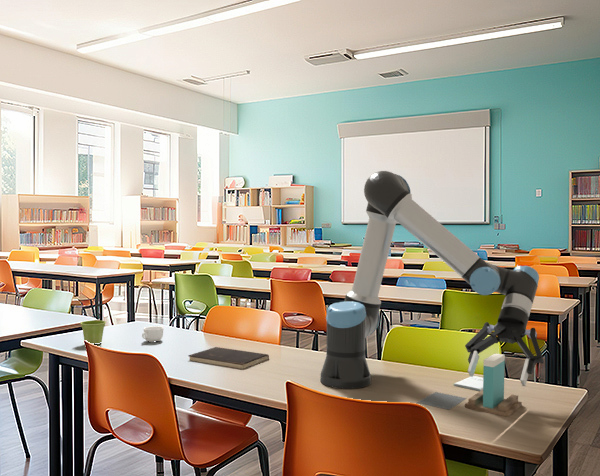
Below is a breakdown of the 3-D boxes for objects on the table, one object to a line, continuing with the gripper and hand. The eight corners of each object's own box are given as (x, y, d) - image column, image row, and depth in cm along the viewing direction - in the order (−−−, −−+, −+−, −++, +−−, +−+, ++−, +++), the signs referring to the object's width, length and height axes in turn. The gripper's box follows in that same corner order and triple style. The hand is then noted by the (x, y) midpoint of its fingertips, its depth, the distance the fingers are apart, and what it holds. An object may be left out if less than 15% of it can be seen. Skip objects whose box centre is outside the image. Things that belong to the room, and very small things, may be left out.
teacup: (153, 338, 227) (153, 325, 227) (167, 340, 224) (167, 327, 224) (135, 343, 219) (135, 329, 219) (149, 345, 215) (149, 331, 215)
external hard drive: (453, 388, 162) (471, 380, 171) (480, 394, 157) (497, 385, 166) (453, 383, 162) (471, 374, 171) (480, 388, 157) (497, 379, 166)
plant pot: (88, 341, 221) (88, 319, 221) (110, 342, 220) (110, 320, 219) (75, 346, 212) (75, 323, 211) (98, 347, 210) (98, 324, 210)
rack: (480, 398, 151) (480, 388, 151) (521, 406, 145) (521, 396, 145) (464, 408, 143) (465, 398, 143) (508, 418, 136) (508, 407, 136)
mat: (435, 393, 156) (435, 391, 156) (466, 399, 150) (466, 398, 150) (416, 403, 146) (416, 402, 146) (449, 411, 141) (449, 409, 141)
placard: (494, 397, 148) (495, 353, 148) (503, 399, 146) (504, 354, 146) (482, 406, 141) (483, 359, 141) (492, 408, 139) (493, 361, 139)
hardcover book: (242, 370, 180) (242, 363, 180) (188, 361, 192) (188, 355, 191) (269, 360, 194) (269, 354, 194) (216, 352, 205) (216, 346, 205)
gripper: (565, 327, 149) (549, 395, 138) (474, 317, 165) (453, 377, 154) (560, 309, 145) (543, 379, 134) (468, 301, 161) (446, 362, 149)
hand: (495, 378), depth 144 cm, fingers open, 13 cm apart
